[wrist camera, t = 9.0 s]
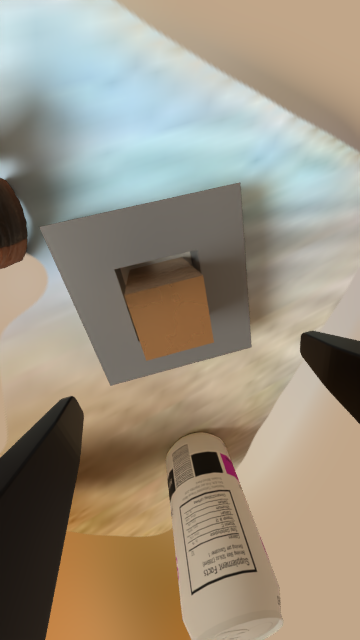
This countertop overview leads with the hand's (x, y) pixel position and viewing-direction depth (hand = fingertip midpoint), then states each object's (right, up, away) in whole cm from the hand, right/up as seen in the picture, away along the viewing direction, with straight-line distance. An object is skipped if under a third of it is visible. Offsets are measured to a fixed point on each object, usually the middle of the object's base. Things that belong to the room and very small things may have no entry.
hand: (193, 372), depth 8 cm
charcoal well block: (-2, +5, +11) cm, 13 cm away
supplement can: (+2, -16, +22) cm, 27 cm away
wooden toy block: (-2, +5, +11) cm, 12 cm away
